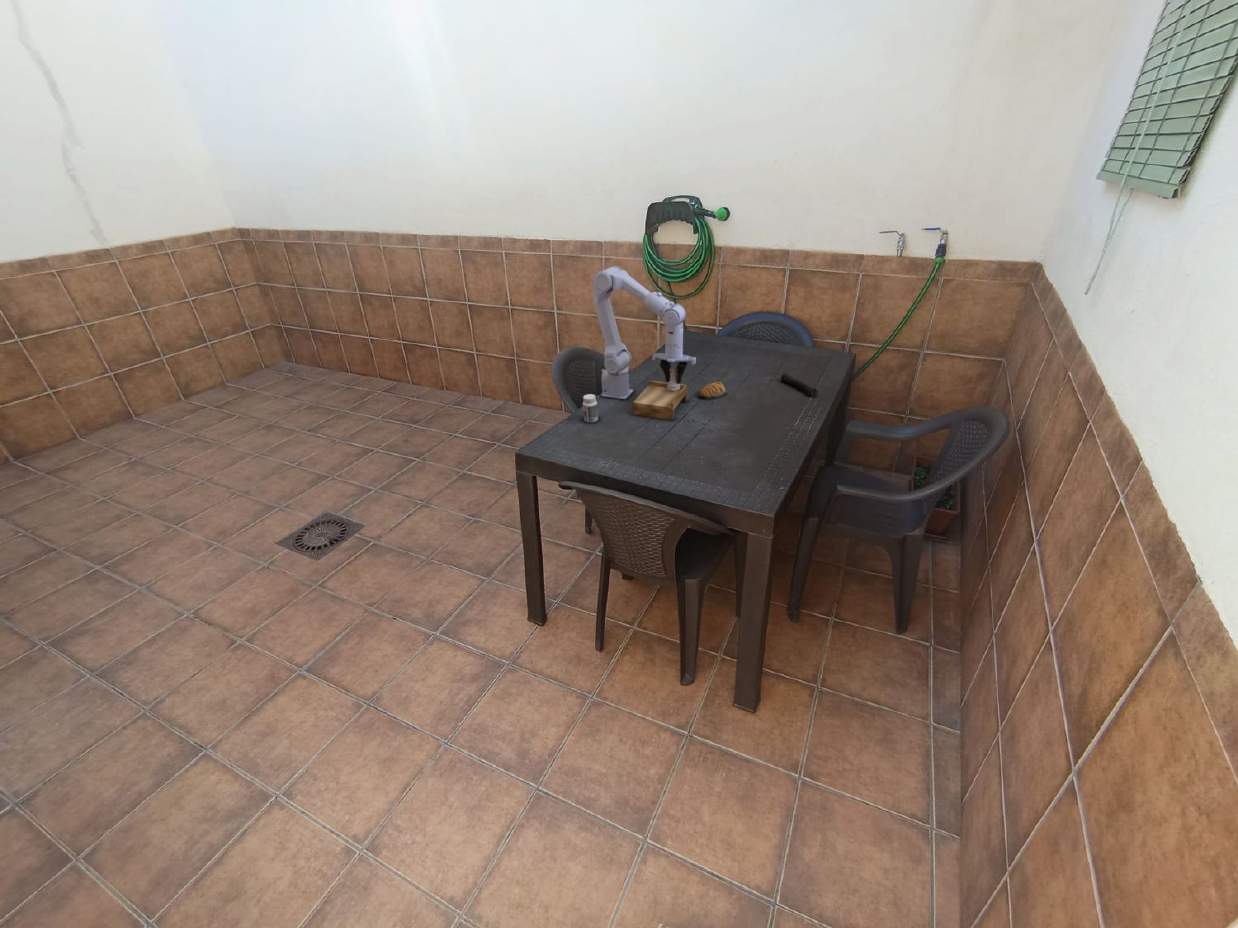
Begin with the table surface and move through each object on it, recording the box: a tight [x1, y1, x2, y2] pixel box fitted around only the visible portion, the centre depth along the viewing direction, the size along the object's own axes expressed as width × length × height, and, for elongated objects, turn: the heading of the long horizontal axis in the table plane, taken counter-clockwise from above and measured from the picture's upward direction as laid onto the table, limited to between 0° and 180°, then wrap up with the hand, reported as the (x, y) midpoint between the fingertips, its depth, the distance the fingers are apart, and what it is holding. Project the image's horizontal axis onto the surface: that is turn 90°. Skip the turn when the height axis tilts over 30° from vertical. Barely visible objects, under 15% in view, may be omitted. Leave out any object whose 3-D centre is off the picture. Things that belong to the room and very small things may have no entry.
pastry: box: [699, 381, 726, 399], centre depth 199 cm, size 9×7×4 cm
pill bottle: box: [582, 393, 599, 423], centre depth 185 cm, size 5×5×8 cm
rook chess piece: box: [667, 364, 681, 391], centre depth 190 cm, size 4×4×8 cm
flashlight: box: [780, 372, 818, 397], centre depth 201 cm, size 3×16×3 cm, turn 23°
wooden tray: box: [632, 380, 688, 421], centre depth 191 cm, size 14×16×6 cm
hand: (673, 381), depth 191 cm, fingers closed on rook chess piece, 3 cm apart
